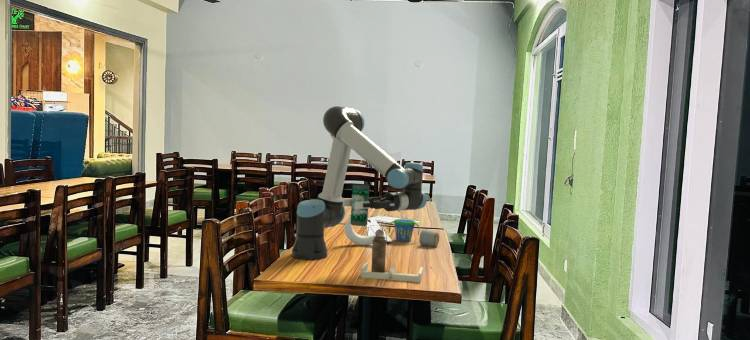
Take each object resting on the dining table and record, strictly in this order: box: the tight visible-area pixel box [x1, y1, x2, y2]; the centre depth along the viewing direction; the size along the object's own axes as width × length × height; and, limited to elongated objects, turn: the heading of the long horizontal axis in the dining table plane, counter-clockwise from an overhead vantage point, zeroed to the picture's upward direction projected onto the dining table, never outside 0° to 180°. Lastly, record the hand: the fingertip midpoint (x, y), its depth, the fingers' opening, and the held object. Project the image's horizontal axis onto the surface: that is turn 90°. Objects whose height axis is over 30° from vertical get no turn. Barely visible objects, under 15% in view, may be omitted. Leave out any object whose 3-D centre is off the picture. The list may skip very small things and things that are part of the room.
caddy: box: [359, 262, 424, 283], centre depth 203 cm, size 22×10×4 cm, turn 81°
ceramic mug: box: [418, 228, 440, 247], centre depth 269 cm, size 11×8×8 cm
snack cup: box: [388, 218, 421, 243], centre depth 278 cm, size 16×10×10 cm
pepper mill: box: [370, 229, 387, 273], centre depth 204 cm, size 5×5×17 cm
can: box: [350, 183, 370, 227], centre depth 210 cm, size 6×6×15 cm
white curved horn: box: [343, 214, 385, 246], centre depth 262 cm, size 5×19×15 cm, turn 93°
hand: (349, 204), depth 207 cm, fingers closed on can, 6 cm apart
